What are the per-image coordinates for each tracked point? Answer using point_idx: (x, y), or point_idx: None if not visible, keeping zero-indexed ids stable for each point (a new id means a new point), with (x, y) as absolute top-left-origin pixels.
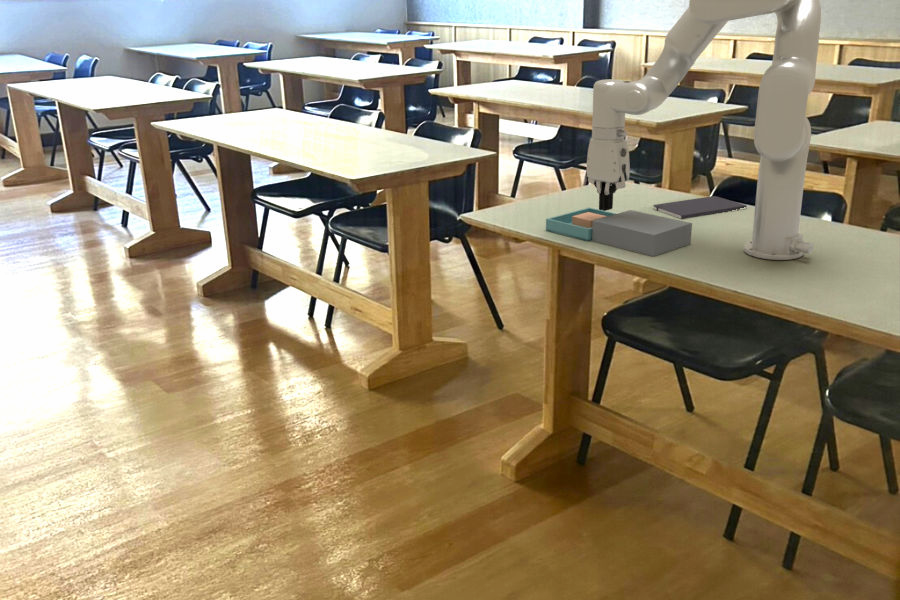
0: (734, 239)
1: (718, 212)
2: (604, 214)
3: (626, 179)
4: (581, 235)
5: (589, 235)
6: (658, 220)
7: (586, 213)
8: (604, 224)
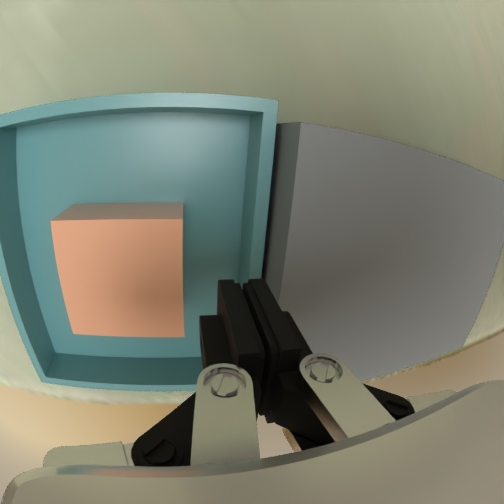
0: (501, 83)
1: None
2: (86, 113)
3: (494, 388)
4: None
5: None
6: (463, 224)
7: (67, 253)
8: None
